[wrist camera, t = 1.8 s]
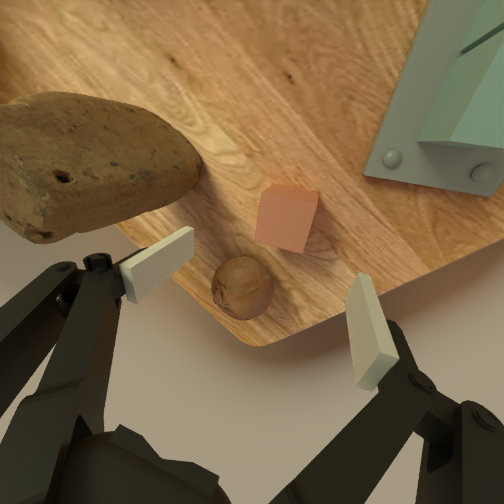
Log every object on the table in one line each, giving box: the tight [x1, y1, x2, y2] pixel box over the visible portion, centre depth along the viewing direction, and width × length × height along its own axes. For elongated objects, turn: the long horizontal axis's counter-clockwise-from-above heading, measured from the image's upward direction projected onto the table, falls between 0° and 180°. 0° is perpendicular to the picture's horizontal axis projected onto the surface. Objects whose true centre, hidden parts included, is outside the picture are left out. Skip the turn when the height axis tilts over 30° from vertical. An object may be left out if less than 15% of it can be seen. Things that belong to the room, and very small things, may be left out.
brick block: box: [254, 183, 319, 254], centre depth 25 cm, size 6×6×6 cm
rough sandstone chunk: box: [0, 91, 201, 244], centre depth 21 cm, size 11×8×20 cm
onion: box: [211, 255, 273, 320], centre depth 31 cm, size 10×9×10 cm
